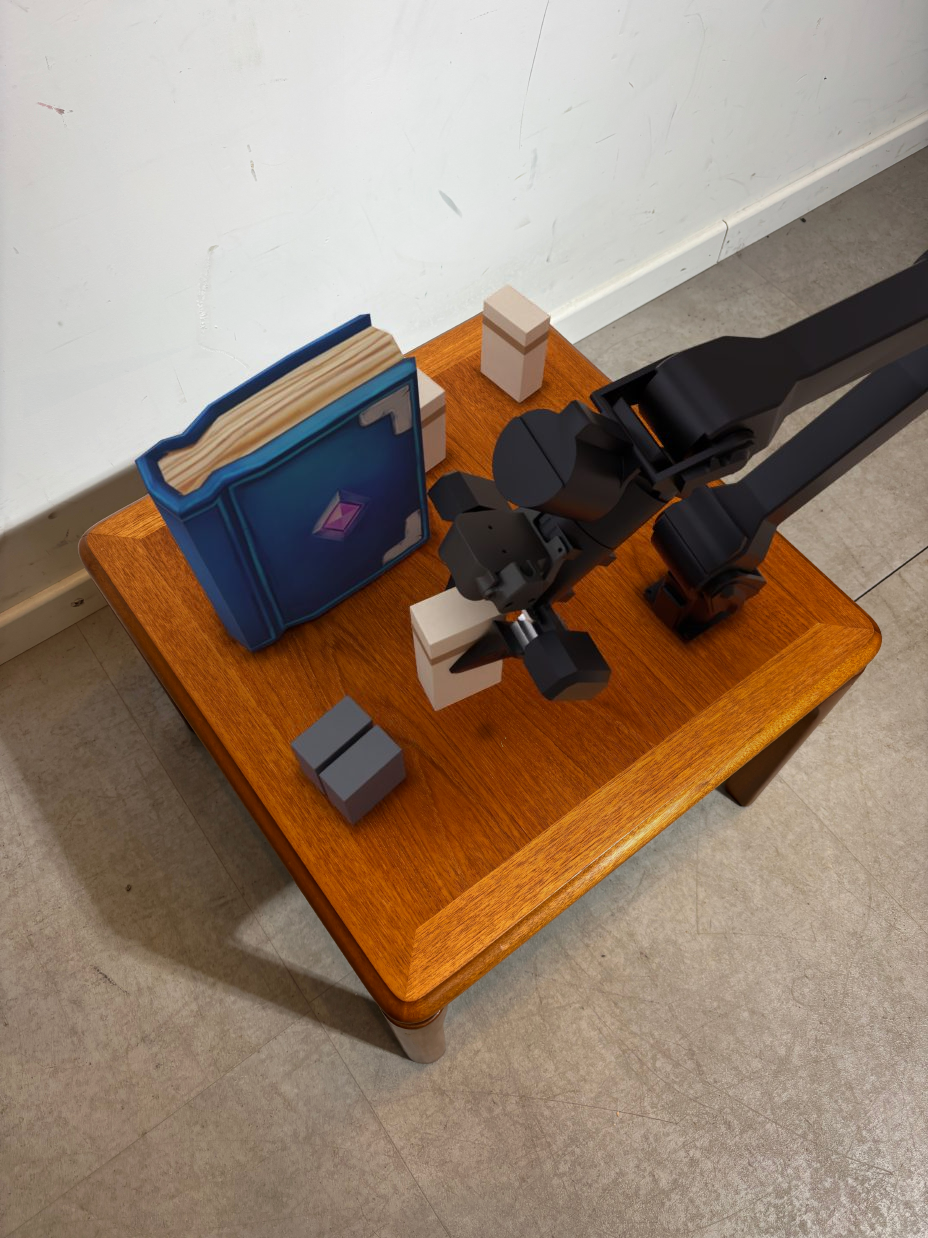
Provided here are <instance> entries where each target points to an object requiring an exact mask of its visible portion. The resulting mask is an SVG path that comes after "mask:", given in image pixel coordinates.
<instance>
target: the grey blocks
mask: <svg viewBox="0 0 928 1238" xmlns="http://www.w3.org/2000/svg"><path fill="white" fill-rule="evenodd" d="M289 745H290V747H291V749H292V751H293V753H294V755H295V758H296V760H297V762H298V764H299V767H300V769H301V771H302V772H303V773H304V775H305V776H306V777H307V778H308V779H309V780H310V781H311V783H312V784H314V785H315V786H316V788H317V789H318V790H319V791H320V792H321V793H322V794H323V796H327V797H328V800H329V802H330V803H331V804H332V805H333V806H334V808H336V810H338V811H339V813H340V814H341V815H342V816H343V817H344V818H345V819H346V820H347V821H348V822H349V823H350V825H352V826H354V825H355V824H357V822H359V821H360V820H361V819H362V818H363V817H364V816H365V815H366V814H368V812H370V811H371V810H372V809H373V808H374V807H375V806H376V805H377V804H378V803H380V802H381V801H382V800H383V799H384V798H385V797H386V796H387V795H389V794H390V793H391V791H393V790H394V789H395V788H396V787H397V786H398V785H399V784H401V782H402V781H404V780H405V778H407V775H406V774H407V773H406V768H405V759H404V754H403V748H402V747H400V746H399V745H398V744H397V743H396V742H395V740H394V739H392V738H391V737H390V735H388V733H387V732H386V731H384V729H382V727H381V726H379V724H375V725H374V722H373V718H372V717H371V716H370V715H369V714H368V713H367V712H366V711H365V710H364V709H363V708H362V707H361V706H360V705H359V704H358V703H357V702H356V700H354V699H353V698H352V697H351V696H350V694H346V695H345V696H344V697H343V698H342V699H341V700H340V701H338V702H337V703H336V704H335V705H333V706H332V707H331V708H330V709H329V710H328V711H326V712H325V713H324V714H323V715H321V716H320V718H318V719H317V720H316V721H314V723H312V724H311V725H310V726H309V727H308V728H307V729H305V730H304V731H303V732H302V733H300V734H299V735H298V736H297V737H296V738H295V739H293V740H292V741H291V742H290V743H289Z"/></svg>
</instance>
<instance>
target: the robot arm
mask: <svg viewBox="0 0 928 1238" xmlns="http://www.w3.org/2000/svg"><path fill="white" fill-rule="evenodd" d="M863 377H864V378H863ZM861 378H862V379H861ZM859 379H861V380H860V381H858V380H859ZM855 381H858V383H856V384H855V385H854V386H852V388H850V389H849V390H848V391H846V392H845V393H844V394H843V395H841V397H839V398H838V399H837V400H836V401H834V403H831V404H830V406H828V407H827V408H826V409H825V410H824V411H822V412H821V413H819V415H818V416H816V417H814V419H812V420H811V421H810V422H809V423H808V424H806V425H805V426H804V427H803V428H802V429H800V430H799V431H798V432H797V433H795V434H794V435H793V436H791V437H790V438H789V439H788V440H787V441H785V442H784V443H783V444H782V445H781V446H779V447H778V448H777V449H776V450H775V451H773V452H772V453H771V454H770V455H769V456H767V457H766V458H765V459H764V460H763V461H761V462H760V463H759V464H758V465H757V466H755V467H754V468H753V469H752V470H750V471H749V472H748V473H746V474H745V475H744V476H743V477H742V478H741V479H739V480H738V481H736V482H733V483H732V482H731V483H726V484H720V485H714V486H709V485H708V484H710V483H713V482H716V481H718V480H721V479H723V478H726V477H728V476H733V475H734V474H736V473H738V472H740V471H741V470H743V469H744V468H745V467H746V466H747V464H748V462H749V461H750V460H751V459H752V458H753V457H754V456H755V455H757V454H759V453H760V452H762V451H764V450H766V449H767V448H768V447H769V446H770V444H771V443H772V441H773V439H774V438H775V436H776V434H777V432H778V431H779V429H780V428H781V426H782V424H783V423H784V421H785V420H786V418H787V417H788V416H790V415H792V414H794V413H795V412H797V411H798V410H800V409H802V408H803V407H805V406H808V405H809V404H811V403H813V402H815V401H817V400H819V399H821V398H823V397H826V396H827V395H830V394H831V393H833V392H835V391H838V390H839V389H842V388H843V387H845V386H847V385H849V384H851V383H853V382H855ZM588 398H589V400H590V402H591V403H592V404H593V406H594V407H595V408H596V410H597V411H598V412H596V411H594V410H592V409H591V408H590V407H589V406H588V405H587V404H586V403H585V402H582V401H580V400H578V399H573V400H571V401H570V402H569V403H568V404H566V406H565V407H564V408H563V409H562V410H561V411H560V412H557V411H554V410H552V409H548V408H535V409H531V410H527V411H525V412H524V413H522V414H520V415H516V416H514V417H513V418H512V419H510V421H508V422H507V423H506V425H505V427H504V428H503V429H502V430H501V432H500V433H499V436H498V438H497V440H496V441H495V445H494V447H493V452H492V459H491V470H492V471H491V472H492V478H493V480H492V479H489V478H485V477H482V476H479V475H476V474H472V473H469V472H465V471H462V470H452V471H449V472H445V473H444V474H442V475H441V476H440V477H439V478H438V479H437V480H435V482H434V484H433V485H431V486H430V487H429V489H427V497H428V499H429V500H430V501H431V503H432V505H433V507H434V509H435V511H436V512H437V514H438V516H439V518H440V520H441V521H444V522H449V523H452V524H451V526H450V527H449V529H448V530H447V532H446V534H445V535H444V538H443V539H442V541H441V543H440V544H439V546H438V548H437V556H438V557H439V559H440V561H441V562H442V563H444V565H445V566H446V568H447V570H448V572H449V574H450V575H449V577H448V580H447V582H446V586H445V588H444V591H443V592H445V591H447V590H449V589H452V588H454V587H456V588H457V590H458V592H459V593H460V594H461V595H462V596H463V597H464V598H466V599H468V600H471V601H480V600H483V599H484V600H485V601H491V602H493V603H494V605H495V607H496V608H497V610H498V612H499V613H501V614H505V613H507V614H509V613H510V614H511V613H515V612H519V611H521V614H520V615H518V617H517V619H515V620H513V621H510V620H506V621H499V620H493V621H492V626H491V630H490V633H489V634H488V635H486V636H485V637H484V638H483V639H481V640H480V641H479V642H478V643H476V644H475V645H474V646H473V647H471V648H470V649H469V650H468V651H466V652H465V653H464V654H463V655H462V656H460V657H459V659H458V660H457V661H456V662H455V663H454V664H453V665H452V666H451V668H450V669H449V671H450V673H451V674H459V673H462V672H465V671H468V670H472V669H475V668H478V667H481V666H484V665H487V664H490V663H493V662H496V661H499V660H502V659H503V660H505V659H509V658H514V659H517V660H522V664H523V665H524V667H525V669H526V671H527V673H528V674H529V676H530V677H531V680H532V682H533V683H534V684H535V685H534V686H536V688H537V690H538V692H539V694H540V695H541V696H542V697H543V698H545V699H546V700H547V701H548V702H574V701H575V702H577V701H591V700H592V699H594V698H595V697H596V696H598V695H599V694H600V693H602V692H603V691H604V690H605V689H606V688H608V685H609V682H610V679H611V676H612V672H613V670H612V669H611V666H610V665H609V664H608V662H607V661H606V659H605V657H604V655H603V654H602V652H601V650H600V649H599V648H598V646H597V644H596V642H595V641H594V640H593V638H592V636H591V634H590V633H589V631H583V630H572V629H571V630H570V629H569V628H568V626H567V624H566V622H565V621H564V619H563V618H562V616H561V615H560V614H559V613H558V612H556V611H555V610H554V609H553V607H552V606H553V605H554V604H555V603H564V604H565V603H567V602H569V601H570V600H571V599H573V597H574V596H576V592H575V591H574V589H573V588H574V587H575V586H576V585H577V584H578V583H579V582H581V581H582V580H583V579H584V578H585V577H586V576H587V575H589V574H590V573H591V572H592V571H593V570H594V569H596V568H597V566H601V567H604V568H607V567H609V566H610V565H611V564H612V563H614V561H616V560H617V559H618V557H617V555H616V554H615V551H616V550H617V549H618V548H619V547H621V545H622V544H624V543H625V542H626V541H627V540H628V539H629V538H631V537H632V536H633V535H634V534H635V533H636V532H637V531H639V530H640V529H641V528H642V527H643V526H644V525H645V524H647V523H648V522H649V521H650V520H651V519H652V518H654V516H655V515H657V514H658V513H659V512H660V511H661V510H662V511H661V512H660V513H659V514H658V515H657V516H656V518H655V520H654V522H653V525H652V529H651V530H652V531H653V532H652V534H651V537H650V544H651V545H652V547H653V548H654V550H655V552H657V554H658V556H659V557H660V558H661V560H662V562H663V563H664V565H665V566H666V567H667V569H668V571H667V572H666V575H665V576H664V577H662V578H660V579H659V580H657V581H656V582H654V583H652V584H651V585H649V586H647V587H646V588H645V589H644V590H643V593H642V596H643V597H644V598H645V600H646V601H647V602H648V603H649V605H651V607H652V610H653V611H654V613H656V615H657V616H658V617H659V619H660V620H661V621H662V622H663V623H664V625H666V627H668V628H669V629H671V630H672V631H673V632H674V633H675V634H676V635H677V637H678V638H679V639H680V640H681V641H682V642H683V643H685V644H689V643H691V642H693V641H694V640H697V638H699V637H701V636H702V635H703V634H705V633H707V632H708V631H710V630H711V629H713V628H714V627H716V626H717V625H719V624H721V623H722V622H724V621H725V620H727V619H728V618H729V617H731V616H733V615H736V614H737V613H739V612H741V610H742V609H743V607H744V605H745V602H746V601H749V600H750V599H751V598H754V597H755V596H757V595H759V593H760V591H761V590H762V589H763V588H764V587H765V586H766V585H767V584H768V581H767V579H766V578H765V577H764V576H763V574H762V573H761V571H760V570H759V569H758V567H759V566H760V565H762V563H764V561H765V560H766V558H767V555H768V552H769V550H770V547H771V544H772V542H773V539H774V537H775V534H776V532H777V529H778V527H779V526H780V525H781V524H782V523H784V522H785V521H786V520H787V519H788V518H790V517H791V516H792V515H794V514H795V513H797V511H799V510H800V509H802V508H803V507H804V506H805V505H806V504H808V503H809V502H811V500H813V499H814V498H816V497H817V496H818V495H820V494H821V493H822V492H824V491H825V490H826V489H827V488H829V487H830V486H831V485H832V484H835V482H836V481H837V480H839V479H840V478H841V477H843V476H844V475H845V474H847V473H848V472H849V471H850V470H852V469H853V468H855V467H856V466H857V465H858V464H859V463H861V462H862V461H863V460H865V459H866V458H867V457H868V456H870V455H871V454H873V453H874V452H875V451H876V450H878V449H879V448H880V447H882V446H883V445H884V444H885V443H886V442H888V441H889V440H890V439H892V438H893V437H894V436H896V435H897V434H898V433H900V432H901V431H903V429H905V428H906V427H908V425H910V424H911V423H912V422H914V421H915V420H916V419H918V418H919V417H920V416H921V415H923V414H924V413H926V411H928V249H926V250H925V251H924V252H923V253H922V254H921V255H919V256H918V257H917V259H916V260H915V261H914V262H913V263H912V264H911V265H910V266H907V267H906V268H902V269H901V270H899V271H897V272H895V273H893V274H891V275H889V276H887V277H885V278H883V279H880V280H879V281H877V282H874V283H873V284H871V285H869V286H867V287H865V288H863V289H861V290H859V291H857V292H855V293H853V294H851V295H849V296H847V297H844V298H842V299H840V300H839V301H836V302H833V304H831V305H828V306H826V307H824V308H822V309H819V310H818V311H816V312H814V313H812V314H810V315H808V316H807V317H804V318H802V319H800V320H798V321H796V322H794V323H792V324H789V325H788V326H786V327H784V328H782V329H779V330H778V331H776V332H773V333H770V334H768V335H764V336H761V337H753V336H737V335H720V336H718V337H715V338H712V339H710V340H707V341H703V342H701V343H699V344H696V345H693V346H689V347H688V348H685V349H682V350H680V351H676V352H673V353H671V354H668V355H666V356H665V357H662V358H660V359H658V360H655V361H654V362H652V363H649V364H648V365H645V366H643V367H641V368H639V369H636V370H635V371H633V372H631V373H628V374H626V375H624V376H622V377H620V378H618V379H616V380H614V381H612V382H610V383H607V384H606V385H603V386H601V387H599V388H597V389H595V390H593V391H592V392H591V393H590V394H589V397H588ZM632 406H637V410H638V414H639V415H640V417H641V418H642V419H643V421H644V422H645V424H646V425H647V426H648V427H649V428H648V427H647V426H646V425H645V424H644V422H643V421H642V419H641V418H640V417H639V415H638V414H637V413H636V411H635V410H634V408H633V407H632ZM649 429H650V430H651V432H652V433H653V434H652V433H651V432H650V430H649ZM653 435H654V436H653ZM655 437H656V439H657V440H658V442H657V440H656V439H655ZM659 442H660V444H661V445H662V446H661V445H660V444H659ZM675 497H676V498H678V499H680V500H678V501H675V502H673V503H672V504H669V503H670V502H671V501H673V500H674V498H675ZM510 504H512V505H514V506H515V507H516V508H514V509H513V508H512V506H511V505H510ZM668 504H669V505H668ZM667 505H668V506H667ZM666 506H667V507H666ZM663 508H664V509H663ZM648 593H649V594H648ZM687 637H688V638H687Z"/></svg>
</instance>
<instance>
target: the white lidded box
mask: <svg viewBox="0 0 928 1238" xmlns="http://www.w3.org/2000/svg"><path fill="white" fill-rule="evenodd" d="M444 591H445V590H444ZM444 591H442V592H440V593H438V594H436V595H432V596H430V597H429V598H426V599H424V600H422V601H421V600H420V601H418V602H417V603H414V604H412V605H410V606H409V613H410V622H411V623H410V624H411V630H412V638H413V646H414V654H415V663H416V670H417V671H416V672H417V679H418V680H419V682H420V684H421V686H422V688H423V690H424V692H425V694H426V697H427V699H428V700H429V703H430V704H431V706H432V708H433V710H434V711H435V712H438V711H440V710H442V709H444V708H446V707H448V706H451V705H452V704H455V703H457V702H460V701H461V700H464V699H466V698H469V697H471V696H472V695H474V694H477V693H479V692H481V691H484V690H485V689H488V688H490V687H492V686H494V685H497V684H499V683H501V681H502V672H503V662H504V659H502V660H499V661H496V662H493V663H490V664H487V665H484V666H481V667H478V668H475V669H472V670H468V671H465V672H462V673H459V674H451V673H450V671H449V669H450V668H451V666H452V665H453V664H454V663H455V662H456V661H457V660H458V659H459V657H460V656H462V655H463V654H464V653H465V652H466V651H468V650H469V649H470V648H471V647H473V646H474V645H475V644H476V643H478V642H479V641H480V640H481V639H483V638H484V637H485V636H486V635H488V634H489V633H490V630H491V626H492V621H493V620H499V621H507V616H508V615H507V614H508V613H505V614H501V613H499V612H498V610H497V608H496V607H495V605H494V603H493V602H491V601H485V600H484V599H483V600H480V601H471V600H468V599H466V598H464V597H463V596H462V595H461V594H460V593H459V592H458V590H457V588H456V587H454V588H452V589H449V590H447V591H445V592H444Z"/></svg>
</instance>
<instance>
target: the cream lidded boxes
mask: <svg viewBox="0 0 928 1238" xmlns="http://www.w3.org/2000/svg"><path fill="white" fill-rule="evenodd" d="M551 317H552V316H551V315H550V314H549V313H548V312H546V310H544V309H542V308H541V307H540V306H538V305H537V304H536V303H534V302H533V301H531V300H530V299H529V298H527V297H526V296H525V295H524V294H522V293H521V292H520V291H518V290H517V289H516V288H514V287H513V286H512V285H510V284H509V283H507V284H505V285H504V286H502V287H501V288H499V289H498V290H497V291H495V292H493V293H492V294H491V295H488V296H487V297H486V298H485V299H483V307H482V320H481V321H482V327H481V328H482V330H481V355H480V356H481V357H480V358H481V359H480V373H481V374H483V375H484V376H485V377H487V378H488V379H489V380H490V381H491V382H493V383H494V384H495V385H496V386H498V387H499V388H500V389H501V390H502V391H504V392H505V393H506V394H507V395H508V396H510V397H511V398H512V399H513V400H515V401H516V402H517V403H520V404H521V403H522V402H523V401H524V400H526V399H527V398H529V397H531V395H533V394H534V393H535V392H536V391H538V390H539V389H541V388H542V386H543V379H544V370H545V365H546V364H545V363H546V357H547V348H548V341H549V336H550V325H551V319H552V318H551ZM404 358H406V356H404ZM417 376H418V388H419V400H420V413H421V425H422V437H423V449H424V462H425V474H426V473H427V472H429V471H430V470H432V469H433V468H434V467H435V466H437V465H438V464H439V463H441V462H442V461H443V460H445V459H446V458H447V456H446V455H447V454H446V453H447V449H446V446H447V445H446V444H447V443H446V439H447V437H446V412H447V406H446V405H447V404H446V390H445V389H444V388H443V387H441V386H440V385H439V384H438V383H436V382H435V381H434V380H433V379H432V378H430V377H429V375H427V374H426V373H425V372H424V371H422V370H421V369H420V368H419V367H417Z"/></svg>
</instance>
